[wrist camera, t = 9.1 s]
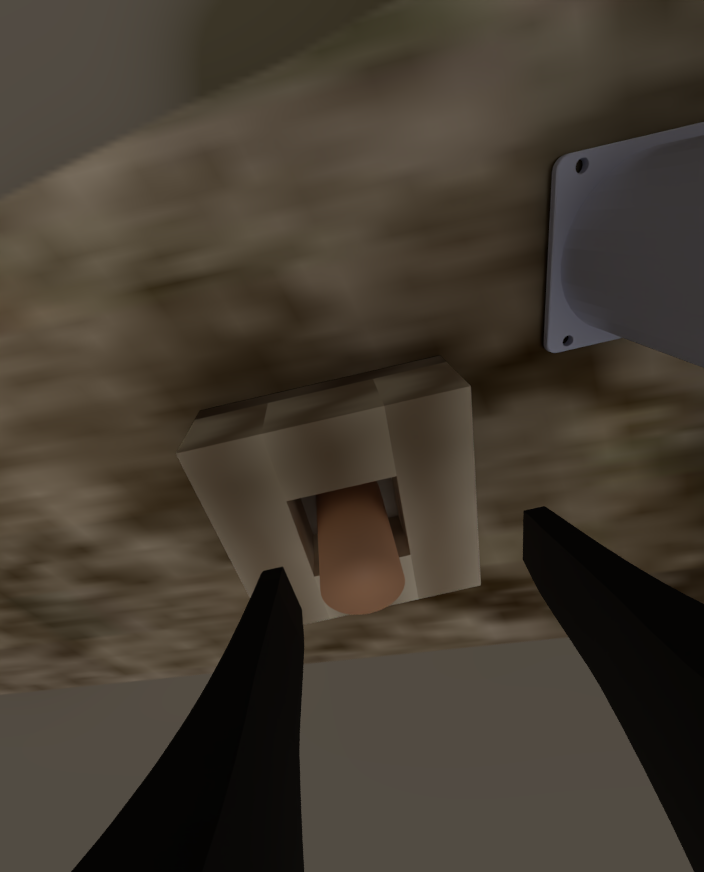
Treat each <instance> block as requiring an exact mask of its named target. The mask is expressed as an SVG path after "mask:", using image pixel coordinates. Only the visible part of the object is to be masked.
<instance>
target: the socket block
mask: <svg viewBox="0 0 704 872" xmlns="http://www.w3.org/2000/svg"><path fill="white" fill-rule="evenodd" d="M176 455H177V457H178V459H179V461H180V463H181V465H182V467H183V469H184V471H185V473H186V475H187V477H188V479H189V480H190V482H191V484H192V486H193V488H194V490H195V492H196V494H197V496H198V498H199V500H200V502H201V504H202V506H203V508H204V510H205V512H206V513H207V515H208V517H209V519H210V521H211V523H212V525H213V527H214V529H215V531H216V533H217V535H218V537H219V539H220V541H221V543H222V545H223V546H224V548H225V550H226V552H227V554H228V556H229V558H230V560H231V562H232V564H233V566H234V568H235V570H236V572H237V574H238V576H239V578H240V580H241V581H242V583H243V585H244V587H245V589H246V591H247V593H248V595H249V597H250V598H251V595H252V593H253V591H254V588H255V586H256V584H257V581H258V579H259V577H260V574H261V573H262V572H263V571H265V570H269V569H274V568H278V567H282V566H283V568H284V570H285V572H286V574H287V577H288V579H289V581H290V583H291V586H292V588H293V590H294V592H295V595H296V597H297V599H298V601H299V604H300V606H301V608H302V615H303V625H305V624H310V623H314V622H319V621H323V620H328V619H332V618H337V617H341V616H346V615H350V614H345V613H341V612H338V611H336V610H334V609H332V608H330V607H329V606H328V605H327V604H326V603H325V602H324V600H323V599H322V596H321V592H320V574H319V552H318V530H317V508H316V494H321V493H325V492H329V491H334V490H338V489H343V488H347V487H351V486H356V485H360V484H365V483H369V482H373V481H377V483H378V485H379V488H380V491H381V495H382V498H383V502H384V505H385V509H386V513H387V516H388V520H389V523H390V527H391V530H392V534H393V537H394V541H395V544H396V548H397V552H398V555H399V559H400V562H401V566H402V569H403V573H404V577H405V586H404V589H403V591H402V593H401V595H400V596H399V597H398V598H397V599H396V600H395V601H394V602H393V603H392V604H390V605H395V604H399V603H403V602H408V601H412V600H417V599H421V598H426V597H430V596H435V595H439V594H444V593H448V592H453V591H457V590H461V589H466V588H470V587H475V586H479V585H481V579H480V560H479V540H478V520H477V500H476V480H475V460H474V440H473V420H472V401H471V386H470V385H469V384H468V383H467V382H466V381H465V380H464V379H463V378H462V377H461V376H460V375H459V374H458V373H457V372H456V371H455V370H454V369H453V368H452V367H451V366H450V365H449V364H448V363H447V362H446V361H445V360H444V359H443V358H442V357H441V356H436V357H431V358H427V359H422V360H418V361H414V362H409V363H405V364H401V365H396V366H392V367H388V368H383V369H379V370H375V371H370V372H366V373H362V374H357V375H353V376H349V377H344V378H340V379H336V380H331V381H327V382H322V383H318V384H314V385H309V386H305V387H301V388H296V389H292V390H288V391H283V392H279V393H275V394H270V395H266V396H262V397H257V398H253V399H249V400H244V401H240V402H236V403H231V404H227V405H223V406H218V407H214V408H209V409H205V410H201V411H199V413H198V415H197V417H196V418H195V420H194V422H193V424H192V426H191V427H190V429H189V431H188V433H187V435H186V436H185V438H184V440H183V442H182V443H181V445H180V447H179V449H178V451H177V452H176ZM390 605H389V606H390Z"/></svg>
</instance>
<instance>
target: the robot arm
mask: <svg viewBox="0 0 704 872" xmlns="http://www.w3.org/2000/svg"><path fill="white" fill-rule="evenodd" d="M579 159H580V160H581V161H582V164H583V166H582V169H581V171H580V172H579V173H577V172H576V168H575V167H576V163H577V162H578V160H579ZM566 336H568V337H569V338H568V340H567V342H566V343H564V344H563V343H562V342H563V339H564V338H565V337H566ZM619 338H625V339H628V340H630V341H633V342H636V343H638V344H641V345H644V346H646V347H649V348H652V349H655V350H657V351H660V352H663V353H665V354H668V355H671V356H674V357H676V358H679V359H682V360H684V361H687V362H690V363H692V364H695V365H698V366H701V367H703V368H704V122H701V123H696V124H692V125H688V126H684V127H679V128H675V129H671V130H667V131H662V132H658V133H654V134H649V135H645V136H641V137H637V138H632V139H628V140H624V141H620V142H615V143H611V144H607V145H602V146H598V147H594V148H590V149H585V150H581V151H577V152H573V153H568V154H565V155H563V156H561V157H560V158H559V159H558V160H557V161H556V162H555V164H554V166H553V170H552V181H551V201H550V222H549V242H548V262H547V283H546V303H545V323H544V348H545V349H546V350H547V351H549V352H551V353H558V352H563V351H567V350H571V349H576V348H580V347H584V346H589V345H593V344H598V343H602V342H606V341H611V340H615V339H619ZM523 561H524V563H525V565H526V567H527V569H528V571H529V573H530V575H531V577H532V579H533V581H534V583H535V585H536V587H537V588H538V590H539V592H540V594H541V595H542V597H543V599H544V600H545V602H546V603H547V605H548V606H549V608H550V609H551V611H552V613H553V614H554V616H555V617H556V619H557V620H558V622H559V623H560V625H561V626H562V628H563V629H564V631H565V632H566V634H567V635H568V637H569V638H570V640H571V641H572V643H573V644H574V646H575V647H576V649H577V650H578V652H579V654H580V655H581V656H582V658H583V660H584V661H585V663H586V664H587V666H588V667H589V669H590V670H591V672H592V674H593V675H594V677H595V679H596V680H597V682H598V684H599V685H600V687H601V689H602V690H603V692H604V694H605V696H606V698H607V700H608V702H609V703H610V705H611V707H612V709H613V711H614V713H615V715H616V716H617V718H618V720H619V722H620V723H621V725H622V727H623V729H624V731H625V733H626V735H627V737H628V739H629V741H630V743H631V745H632V747H633V749H634V750H635V752H636V754H637V756H638V758H639V760H640V762H641V764H642V766H643V768H644V769H645V772H646V773H647V776H648V778H649V780H650V782H651V784H652V786H653V788H654V790H655V792H656V794H657V796H658V798H659V800H660V802H661V804H662V805H663V808H664V810H665V812H666V814H667V816H668V818H669V820H670V821H671V824H672V826H673V828H674V830H675V832H676V834H677V837H678V839H679V841H680V843H681V845H682V847H683V849H684V851H685V853H686V856H687V857H688V860H689V862H690V864H691V866H692V868H693V870H694V872H704V604H703V603H701V602H699V601H697V600H695V599H693V598H691V597H689V596H687V595H685V594H683V593H681V592H679V591H677V590H676V589H674V588H672V587H670V586H668V585H667V584H665V583H663V582H661V581H660V580H658V579H656V578H654V577H653V576H651V575H649V574H648V573H646V572H644V571H642V570H641V569H639V568H637V567H636V566H634V565H633V564H631V563H629V562H628V561H626V560H624V559H623V558H621V557H620V556H618V555H617V554H615V553H613V552H612V551H610V550H609V549H607V548H606V547H604V546H603V545H601V544H599V543H598V542H596V541H595V540H593V539H592V538H590V537H589V536H587V535H586V534H585V533H583V532H582V531H580V530H579V529H577V528H576V527H574V526H573V525H571V524H570V523H568V522H567V521H566V520H564V519H563V518H561V517H560V516H558V515H557V514H555V513H554V512H552V511H551V510H549V509H548V508H546V507H545V506H543V507H538V508H534V509H530V510H525V511H524V519H523ZM303 660H304V632H303V615H302V608H301V606H300V604H299V601H298V599H297V597H296V595H295V592H294V590H293V588H292V586H291V583H290V581H289V579H288V577H287V574H286V572H285V570H284V568H283V566H282V567H278V568H274V569H269V570H265V571H263V572H262V573H261V574H260V577H259V579H258V581H257V584H256V586H255V588H254V591H253V593H252V595H251V598H250V600H249V602H248V604H247V607H246V609H245V611H244V613H243V615H242V618H241V620H240V622H239V624H238V626H237V628H236V630H235V632H234V634H233V636H232V638H231V640H230V642H229V644H228V646H227V648H226V650H225V652H224V654H223V656H222V658H221V659H220V661H219V663H218V665H217V667H216V669H215V670H214V672H213V674H212V676H211V678H210V680H209V682H208V684H207V685H206V687H205V688H204V690H203V692H202V694H201V695H200V697H199V699H198V700H197V702H196V704H195V705H194V707H193V708H192V710H191V712H190V713H189V715H188V716H187V718H186V720H185V721H184V723H183V724H182V726H181V727H180V729H179V730H178V732H177V733H176V735H175V736H174V738H173V739H172V741H171V742H170V744H169V745H168V747H167V748H166V750H165V751H164V753H163V754H162V756H161V757H160V759H159V760H158V761H157V763H156V764H155V766H154V767H153V768H152V770H151V771H150V773H149V774H148V775H147V777H146V778H145V779H144V781H143V782H142V784H141V785H140V786H139V787H138V789H137V790H136V791H135V793H134V794H133V795H132V797H131V798H130V799H129V801H128V802H127V803H126V804H125V806H124V807H123V808H122V810H121V811H120V812H119V814H118V815H117V816H116V818H115V819H114V820H113V822H112V823H111V824H110V825H109V827H108V828H107V829H106V831H105V832H104V833H103V834H102V836H101V837H100V838H99V839H98V840H97V842H96V843H95V844H94V845H93V846H92V848H91V849H90V850H89V851H88V852H87V854H86V855H85V856H84V857H83V858H82V860H81V861H80V862H79V863H78V864H77V866H76V867H75V868H74V869H73V870H72V871H71V872H304V860H303V844H302V843H303V842H302V819H301V797H300V796H301V794H300V760H299V741H300V716H301V697H302V680H303Z"/></svg>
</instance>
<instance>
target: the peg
mask: <svg viewBox="0 0 704 872" xmlns="http://www.w3.org/2000/svg"><path fill="white" fill-rule="evenodd" d="M316 508H317V530H318V552H319V574H320V592H321V596H322V599H323V600H324V602H325V603H326V604H327V605H328V606H329V607H330V608H332V609H334V610H336V611H338V612H341V613H345V614H351V615H361V614H369V613H373V612H376V611H379V610H381V609H384V608H386V607H387V606H389V605H390V604H392V603H393V602H394V601H395V600H396V599H397V598H398V597H399V596H400V595H401V593H402V591H403V589H404V586H405V577H404V573H403V569H402V566H401V562H400V559H399V555H398V552H397V548H396V544H395V541H394V537H393V534H392V530H391V527H390V523H389V520H388V516H387V513H386V509H385V505H384V502H383V498H382V495H381V491H380V488H379V485H378V483H377V481H373V482H369V483H365V484H360V485H356V486H351V487H347V488H343V489H338V490H334V491H329V492H325V493H321V494H316Z"/></svg>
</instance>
